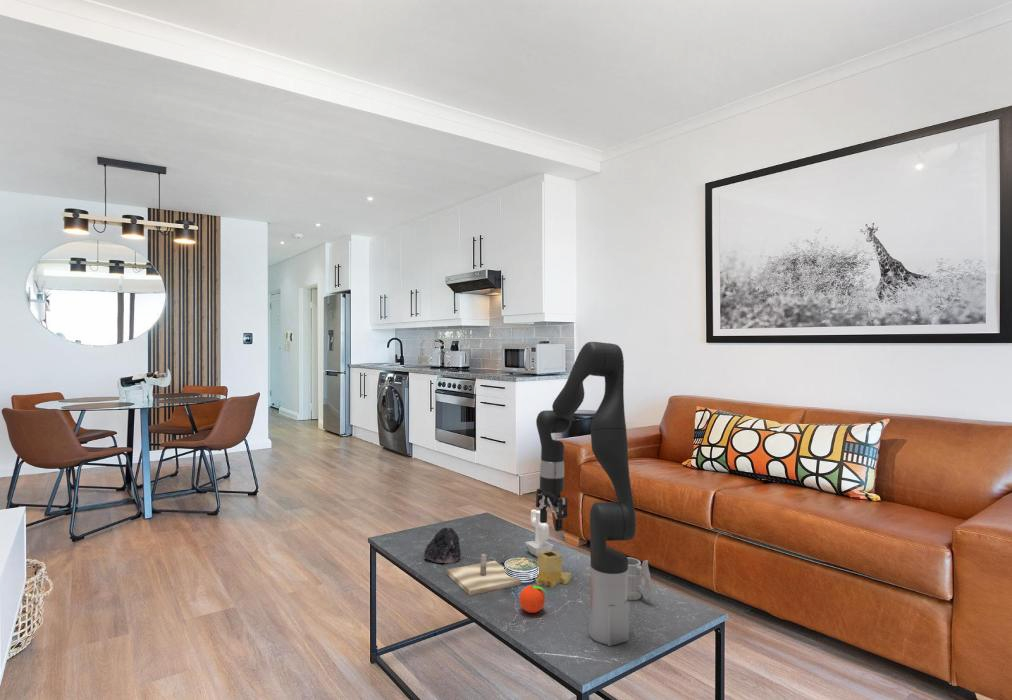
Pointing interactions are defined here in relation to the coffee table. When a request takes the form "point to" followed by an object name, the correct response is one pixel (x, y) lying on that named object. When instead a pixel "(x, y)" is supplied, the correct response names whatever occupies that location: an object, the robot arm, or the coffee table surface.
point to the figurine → (539, 535)
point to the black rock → (444, 547)
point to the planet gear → (551, 569)
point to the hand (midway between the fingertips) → (550, 526)
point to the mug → (638, 579)
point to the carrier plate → (482, 577)
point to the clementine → (532, 598)
